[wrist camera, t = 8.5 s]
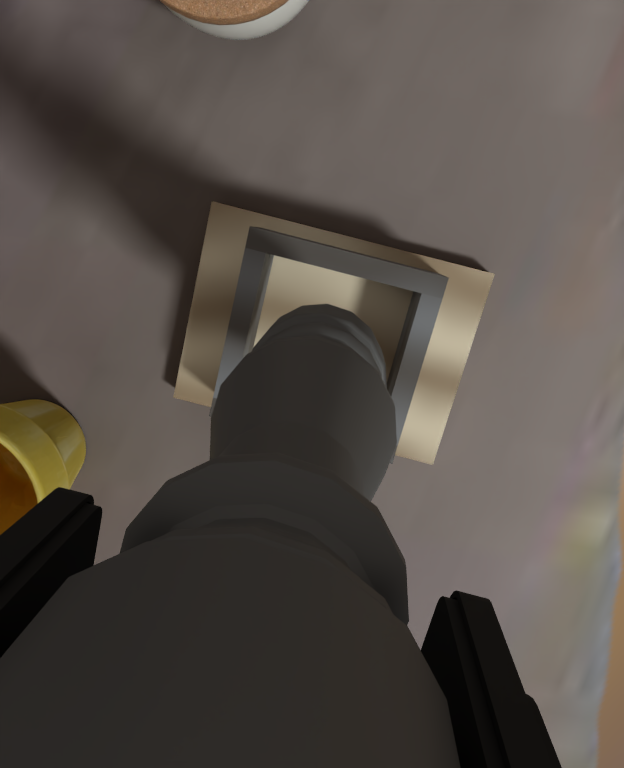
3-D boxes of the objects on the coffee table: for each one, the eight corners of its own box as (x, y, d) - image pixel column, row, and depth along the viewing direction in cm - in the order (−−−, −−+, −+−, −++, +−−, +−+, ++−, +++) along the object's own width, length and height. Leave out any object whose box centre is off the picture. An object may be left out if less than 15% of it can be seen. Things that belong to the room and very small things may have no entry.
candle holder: (234, 389, 29) (-350, 1140, 5) (294, 279, 28) (-127, 578, 3) (343, 449, 29) (296, 1422, 5) (408, 343, 28) (760, 1029, 4)
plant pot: (90, 529, 44) (18, 609, 35) (-40, 478, 44) (-148, 544, 34) (131, 407, 42) (65, 457, 32) (-7, 352, 41) (-114, 386, 32)
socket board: (429, 456, 41) (441, 489, 36) (179, 391, 41) (153, 414, 36) (489, 272, 38) (511, 278, 32) (217, 202, 38) (194, 196, 32)
